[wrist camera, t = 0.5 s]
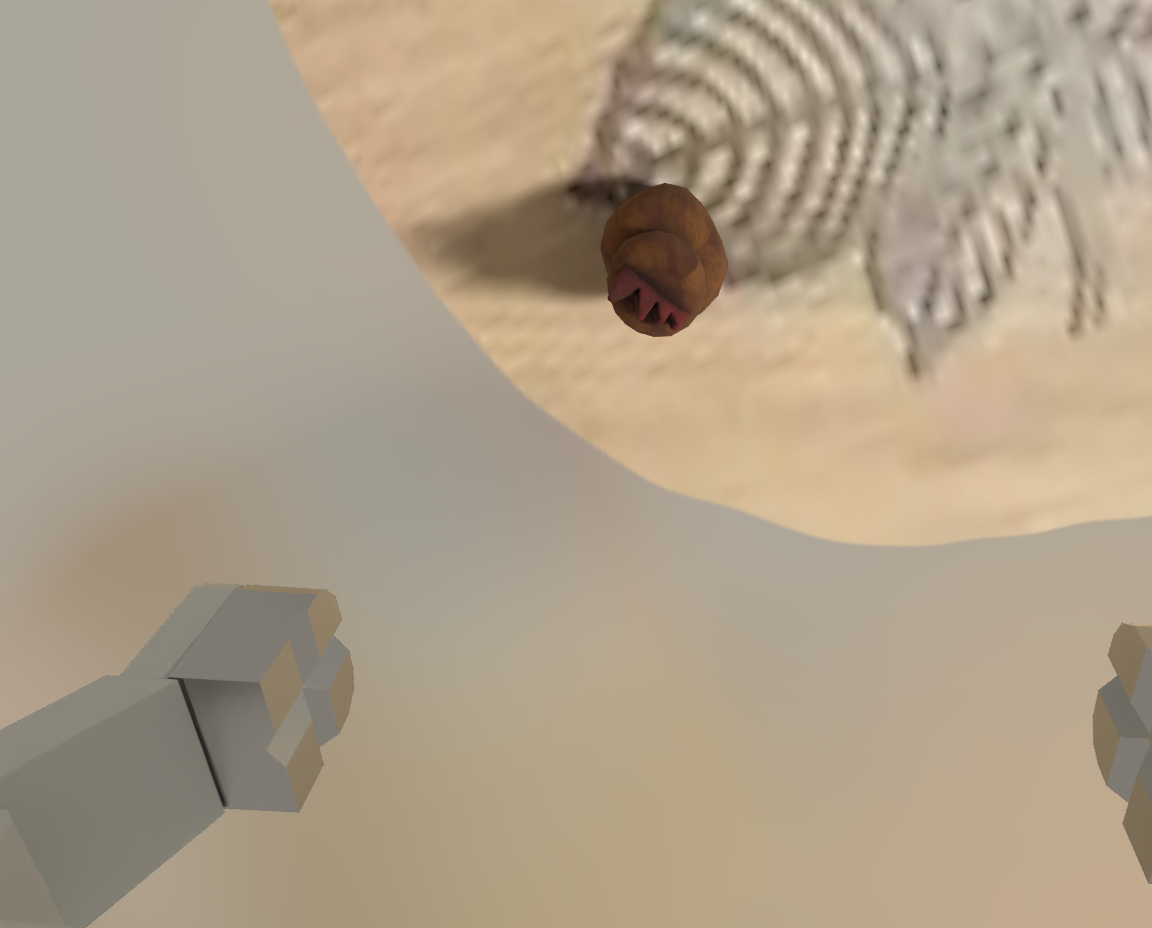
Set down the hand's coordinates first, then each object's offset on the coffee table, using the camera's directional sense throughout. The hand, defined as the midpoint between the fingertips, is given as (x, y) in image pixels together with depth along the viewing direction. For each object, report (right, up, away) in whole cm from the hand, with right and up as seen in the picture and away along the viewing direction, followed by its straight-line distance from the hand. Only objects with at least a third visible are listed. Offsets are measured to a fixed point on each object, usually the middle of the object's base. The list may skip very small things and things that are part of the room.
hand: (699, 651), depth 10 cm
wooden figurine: (+4, +15, +43) cm, 46 cm away
